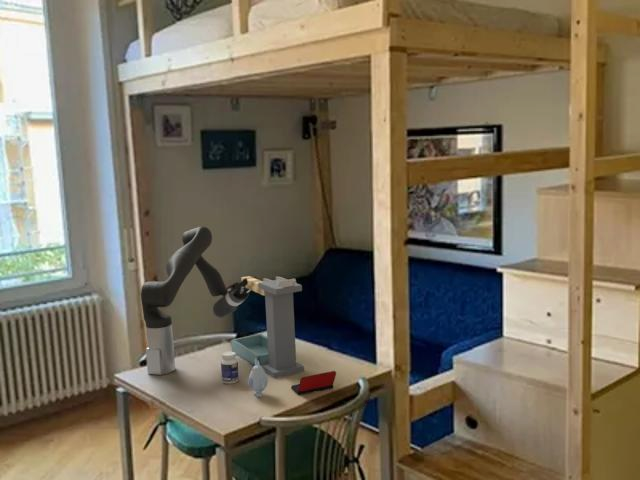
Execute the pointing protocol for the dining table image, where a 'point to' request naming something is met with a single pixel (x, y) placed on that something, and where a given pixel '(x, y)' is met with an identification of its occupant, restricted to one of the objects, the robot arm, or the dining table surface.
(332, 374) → the handheld game console
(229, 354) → the pill bottle
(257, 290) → the maple pin
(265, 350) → the teal tray
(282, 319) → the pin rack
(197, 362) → the dining table surface
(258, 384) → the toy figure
